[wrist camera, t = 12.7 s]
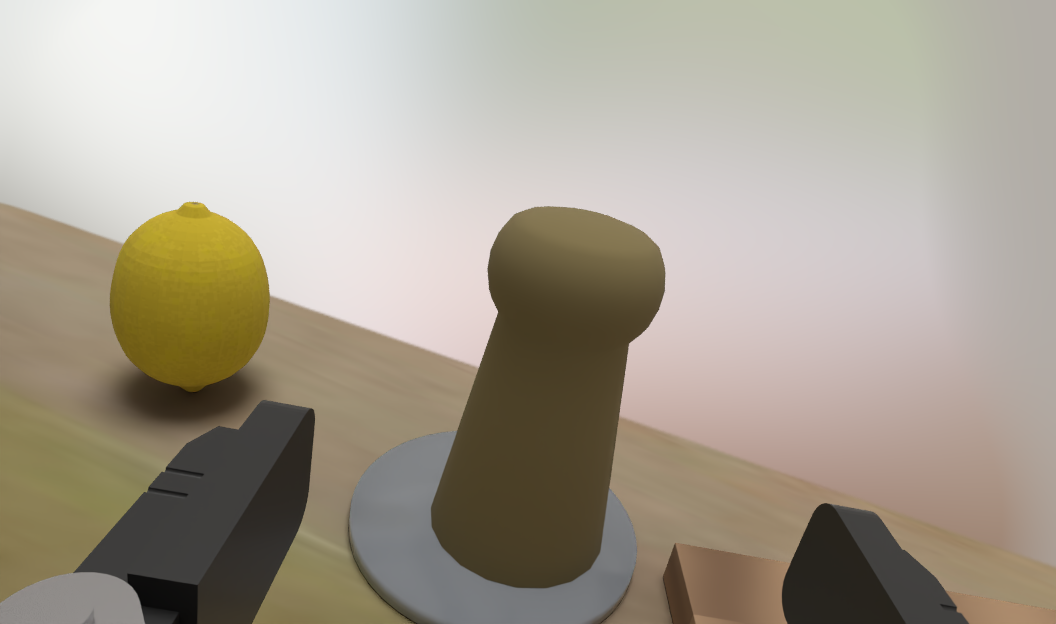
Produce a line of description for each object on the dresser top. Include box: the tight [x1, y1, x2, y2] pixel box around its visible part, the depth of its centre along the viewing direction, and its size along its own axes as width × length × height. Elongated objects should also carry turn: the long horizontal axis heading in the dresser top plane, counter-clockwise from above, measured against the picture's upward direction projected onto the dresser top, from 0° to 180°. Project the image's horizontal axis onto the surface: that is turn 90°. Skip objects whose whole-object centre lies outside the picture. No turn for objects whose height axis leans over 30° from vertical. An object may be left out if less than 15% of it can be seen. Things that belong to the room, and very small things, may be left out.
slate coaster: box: [348, 431, 637, 624], centre depth 24 cm, size 10×10×1 cm
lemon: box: [110, 202, 270, 392], centre depth 26 cm, size 6×6×8 cm
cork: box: [431, 206, 665, 588], centre depth 21 cm, size 6×6×11 cm
